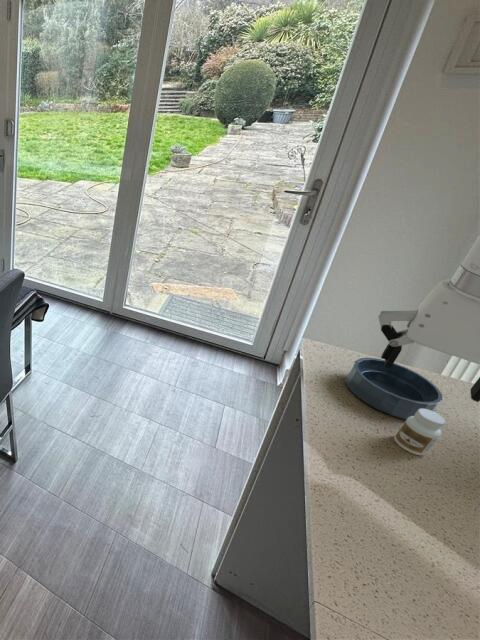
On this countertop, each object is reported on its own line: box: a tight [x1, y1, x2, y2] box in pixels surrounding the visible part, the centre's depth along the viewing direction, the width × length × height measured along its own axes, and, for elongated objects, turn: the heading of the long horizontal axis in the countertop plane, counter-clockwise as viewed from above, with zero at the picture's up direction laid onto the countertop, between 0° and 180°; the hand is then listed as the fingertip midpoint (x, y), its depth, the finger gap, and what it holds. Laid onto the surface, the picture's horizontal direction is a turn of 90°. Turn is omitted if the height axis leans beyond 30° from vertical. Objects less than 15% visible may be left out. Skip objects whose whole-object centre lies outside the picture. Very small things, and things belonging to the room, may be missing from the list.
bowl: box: [345, 357, 443, 420], centre depth 85 cm, size 13×13×5 cm
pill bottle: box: [393, 408, 446, 456], centre depth 74 cm, size 4×4×8 cm
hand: (428, 379), depth 64 cm, fingers open, 9 cm apart
